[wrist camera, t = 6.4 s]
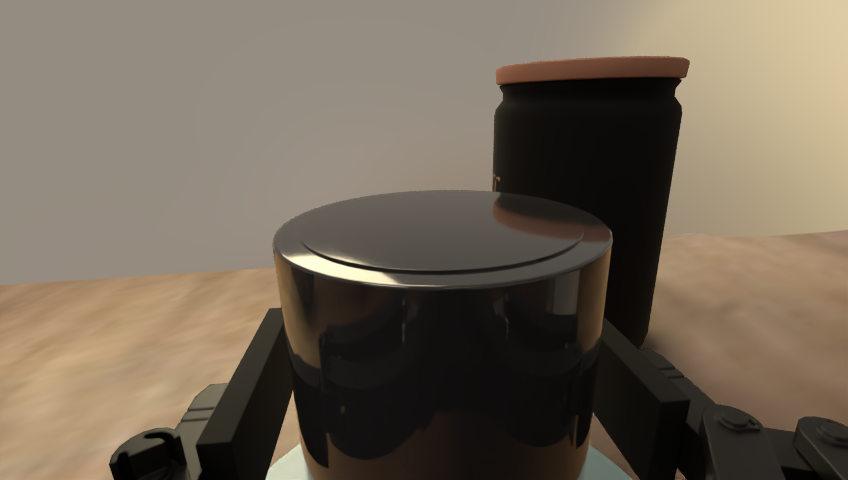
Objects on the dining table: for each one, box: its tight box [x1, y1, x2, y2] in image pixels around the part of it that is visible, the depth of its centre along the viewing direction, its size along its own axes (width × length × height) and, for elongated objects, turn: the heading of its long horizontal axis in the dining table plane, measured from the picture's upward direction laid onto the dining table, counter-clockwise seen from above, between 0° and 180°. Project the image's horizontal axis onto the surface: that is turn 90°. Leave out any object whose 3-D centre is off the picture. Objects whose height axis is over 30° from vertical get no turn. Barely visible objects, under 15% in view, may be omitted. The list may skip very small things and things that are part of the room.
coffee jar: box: [492, 56, 690, 349], centre depth 28 cm, size 11×11×18 cm
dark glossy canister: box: [272, 190, 613, 480], centre depth 12 cm, size 8×8×12 cm
